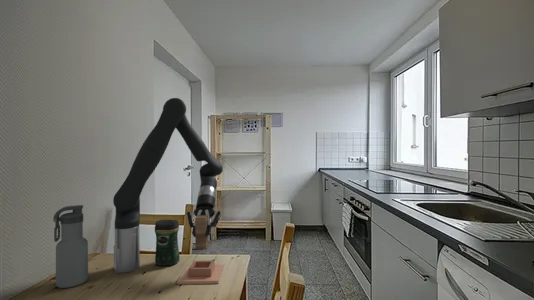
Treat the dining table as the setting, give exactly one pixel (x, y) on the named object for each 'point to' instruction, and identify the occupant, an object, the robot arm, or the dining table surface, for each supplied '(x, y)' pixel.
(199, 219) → the walnut post
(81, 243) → the water bottle
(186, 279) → the terracotta holder
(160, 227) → the coffee jar
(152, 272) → the dining table surface
